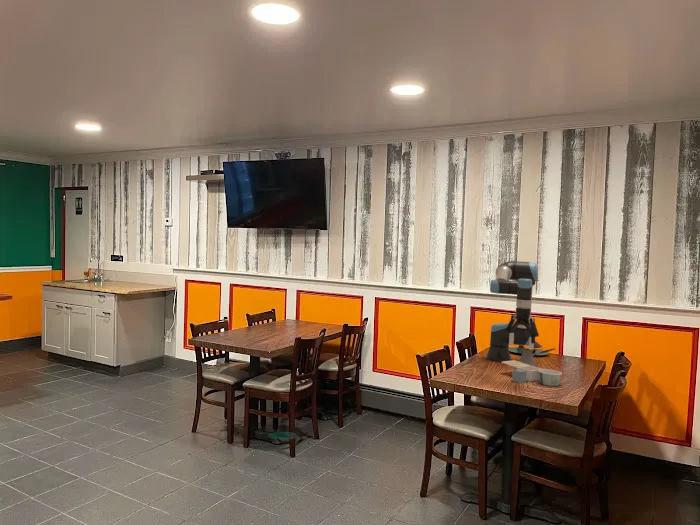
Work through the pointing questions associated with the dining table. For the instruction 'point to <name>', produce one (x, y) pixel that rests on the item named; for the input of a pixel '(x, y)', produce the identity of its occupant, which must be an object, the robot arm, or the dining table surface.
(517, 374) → the block
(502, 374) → the dining table surface
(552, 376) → the food container
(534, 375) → the mailer base
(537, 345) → the sailing ship model
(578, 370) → the dining table surface
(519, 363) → the lid
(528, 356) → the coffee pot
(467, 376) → the dining table surface
